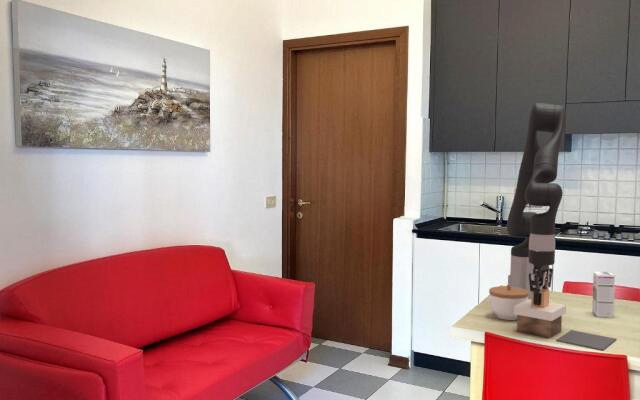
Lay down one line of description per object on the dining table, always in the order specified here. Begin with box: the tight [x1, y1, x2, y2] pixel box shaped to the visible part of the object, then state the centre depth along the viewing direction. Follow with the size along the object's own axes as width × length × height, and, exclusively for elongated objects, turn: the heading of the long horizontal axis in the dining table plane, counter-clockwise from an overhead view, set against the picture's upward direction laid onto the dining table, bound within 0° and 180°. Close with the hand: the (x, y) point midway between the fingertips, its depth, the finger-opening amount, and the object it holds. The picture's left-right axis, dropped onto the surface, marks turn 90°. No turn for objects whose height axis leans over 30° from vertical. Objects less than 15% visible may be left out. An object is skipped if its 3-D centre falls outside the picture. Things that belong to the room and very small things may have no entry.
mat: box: [555, 329, 617, 351], centre depth 178 cm, size 13×13×1 cm
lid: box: [514, 289, 567, 321], centre depth 186 cm, size 12×12×8 cm
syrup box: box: [591, 271, 616, 318], centre depth 206 cm, size 6×6×14 cm
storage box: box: [516, 315, 563, 339], centre depth 187 cm, size 10×10×7 cm
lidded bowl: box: [488, 283, 529, 321], centre depth 203 cm, size 13×13×11 cm
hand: (540, 303), depth 186 cm, fingers closed on lid, 4 cm apart
